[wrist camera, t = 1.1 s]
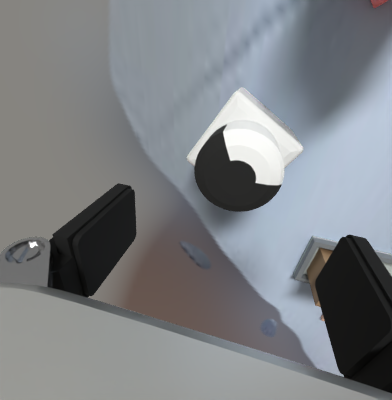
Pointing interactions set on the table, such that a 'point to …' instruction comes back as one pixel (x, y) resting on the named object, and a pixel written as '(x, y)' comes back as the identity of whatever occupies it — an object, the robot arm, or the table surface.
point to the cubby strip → (316, 242)
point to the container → (243, 154)
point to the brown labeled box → (317, 270)
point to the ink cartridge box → (377, 2)
